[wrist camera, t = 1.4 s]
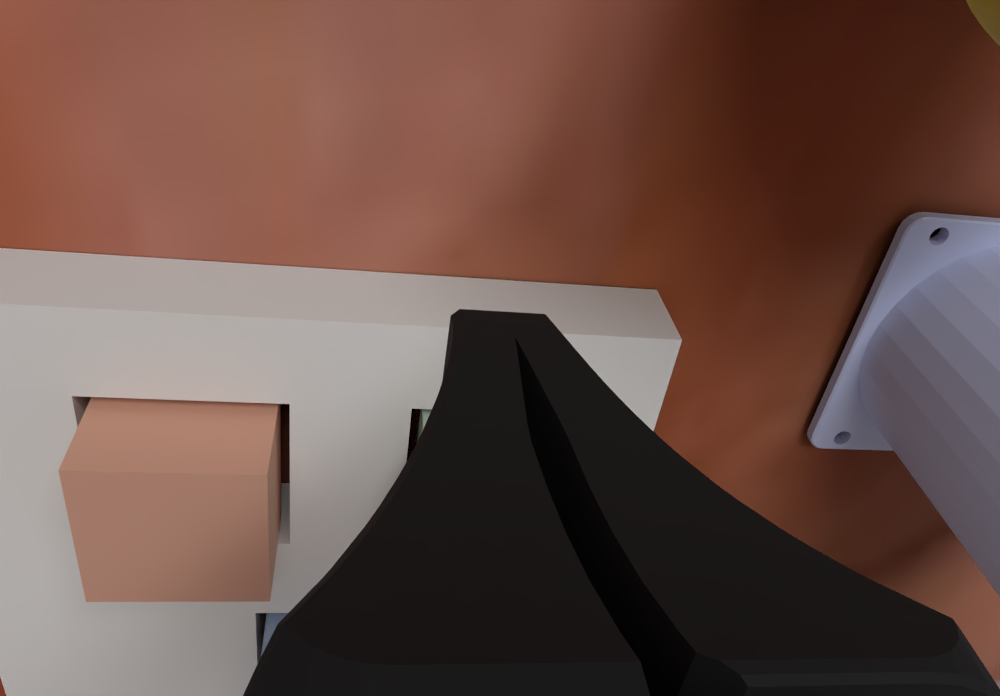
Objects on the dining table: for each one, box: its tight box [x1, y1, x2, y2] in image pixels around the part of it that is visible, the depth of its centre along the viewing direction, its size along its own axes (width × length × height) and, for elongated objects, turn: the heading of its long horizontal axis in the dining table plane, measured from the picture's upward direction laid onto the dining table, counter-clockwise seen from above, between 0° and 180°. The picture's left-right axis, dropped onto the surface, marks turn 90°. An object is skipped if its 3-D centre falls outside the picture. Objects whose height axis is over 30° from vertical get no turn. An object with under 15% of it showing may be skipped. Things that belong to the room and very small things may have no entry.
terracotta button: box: [58, 397, 282, 602], centre depth 21 cm, size 4×4×3 cm
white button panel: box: [0, 248, 682, 696], centre depth 26 cm, size 18×18×2 cm
